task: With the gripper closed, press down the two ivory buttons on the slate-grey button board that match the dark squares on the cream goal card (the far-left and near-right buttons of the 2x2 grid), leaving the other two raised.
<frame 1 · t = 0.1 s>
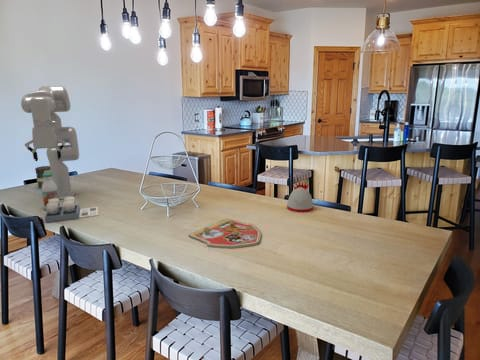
hand: (48, 159, 171), 31 cm above the table, fingers open, 9 cm apart
button b: (69, 202, 188), point 6 cm above the table, slide at 0.0 cm
kitchen timer: (300, 208, 192), on the table
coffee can: (47, 188, 240), on the table
button a: (54, 204, 185), point 6 cm above the table, slide at 0.0 cm
goal card: (89, 212, 189), on the table
button board: (63, 216, 185), on the table
milk bottle: (52, 208, 197), on the table
coat of arms plaque: (231, 237, 157), on the table
button c: (52, 208, 179), point 6 cm above the table, slide at 0.0 cm
button d: (69, 206, 181), point 6 cm above the table, slide at 0.0 cm
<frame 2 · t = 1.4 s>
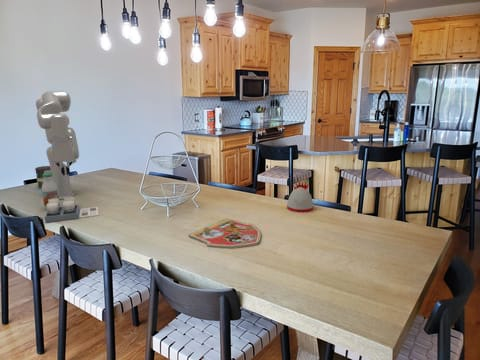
hand: (66, 174, 184), 21 cm above the table, fingers closed
nothing on the table moved.
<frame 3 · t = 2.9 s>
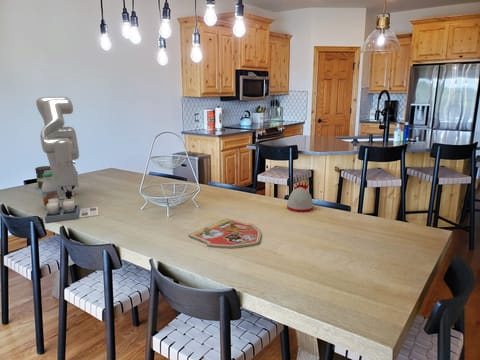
hand: (69, 198, 187), 8 cm above the table, fingers closed
button b: (69, 202, 188), point 6 cm above the table, slide at 0.3 cm, touching gripper
everything else where it was.
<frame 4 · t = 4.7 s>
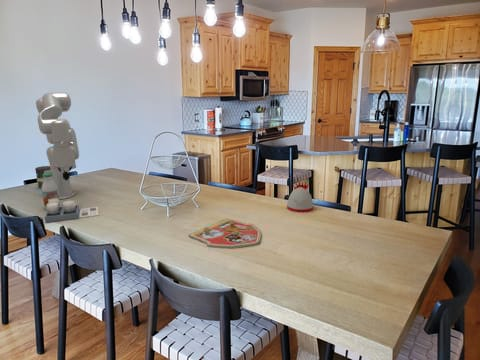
hand: (66, 179, 185), 18 cm above the table, fingers closed
button b: (70, 207, 189), point 3 cm above the table, slide at 2.9 cm
everything else where it was.
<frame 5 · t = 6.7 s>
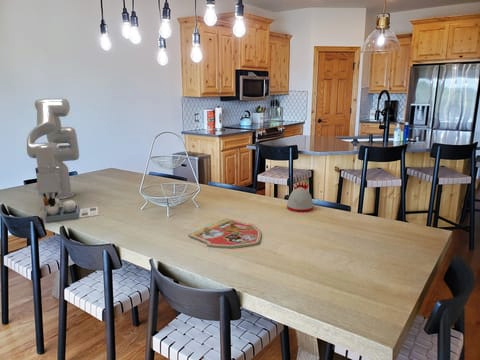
hand: (52, 205, 178), 7 cm above the table, fingers closed
button c: (53, 210, 179), point 5 cm above the table, slide at 1.1 cm, touching gripper
everything else where it was.
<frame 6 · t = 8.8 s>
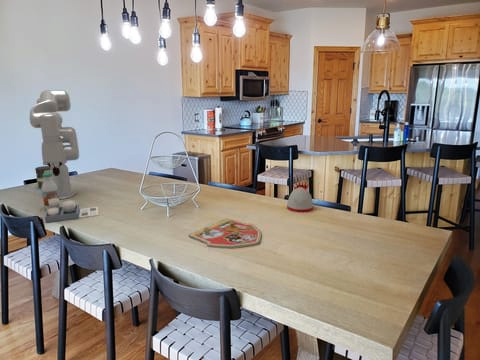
hand: (56, 175, 179), 22 cm above the table, fingers closed
button c: (53, 213, 179), point 3 cm above the table, slide at 2.9 cm
everything else where it was.
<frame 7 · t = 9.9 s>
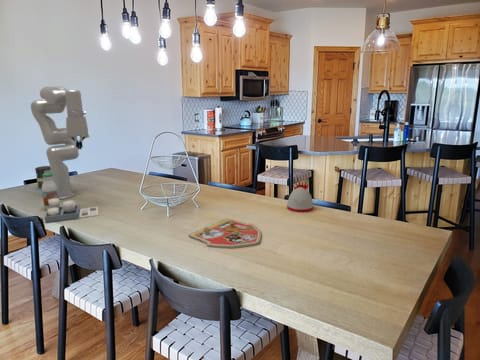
hand: (79, 149, 189), 33 cm above the table, fingers closed
nothing on the table moved.
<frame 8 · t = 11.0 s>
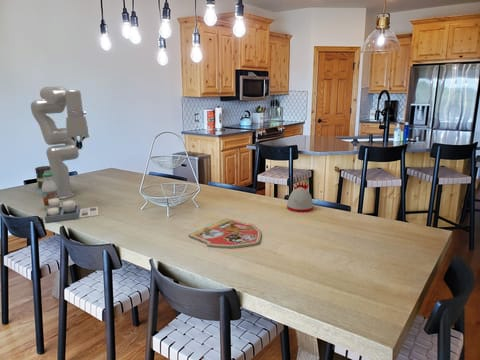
hand: (79, 149, 189), 33 cm above the table, fingers closed
nothing on the table moved.
at the end: button b slide at 2.9 cm; button c slide at 2.9 cm; button a slide at 0.0 cm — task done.
